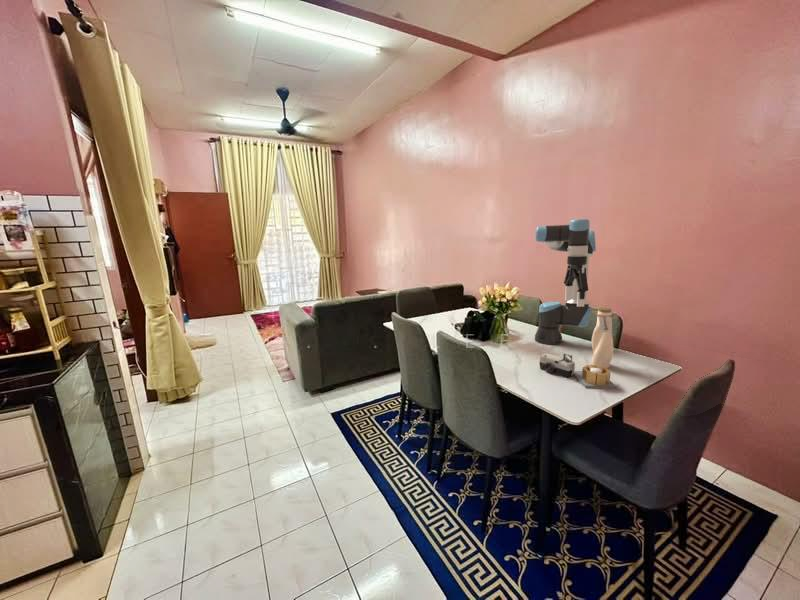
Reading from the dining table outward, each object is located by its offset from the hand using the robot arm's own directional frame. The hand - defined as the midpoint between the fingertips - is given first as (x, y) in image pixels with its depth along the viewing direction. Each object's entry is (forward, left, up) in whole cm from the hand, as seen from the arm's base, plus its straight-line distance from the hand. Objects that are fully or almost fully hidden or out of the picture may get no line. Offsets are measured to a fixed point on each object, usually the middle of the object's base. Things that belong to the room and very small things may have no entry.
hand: (574, 303), depth 145 cm
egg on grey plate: (+10, +6, -33) cm, 35 cm away
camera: (+2, -7, -33) cm, 34 cm away
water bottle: (-7, +17, -33) cm, 38 cm away
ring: (+12, +6, -32) cm, 34 cm away
